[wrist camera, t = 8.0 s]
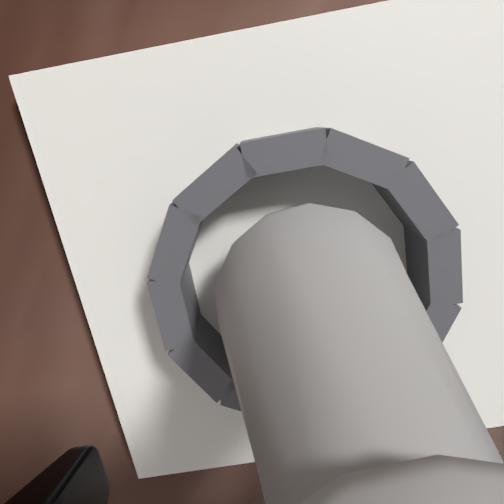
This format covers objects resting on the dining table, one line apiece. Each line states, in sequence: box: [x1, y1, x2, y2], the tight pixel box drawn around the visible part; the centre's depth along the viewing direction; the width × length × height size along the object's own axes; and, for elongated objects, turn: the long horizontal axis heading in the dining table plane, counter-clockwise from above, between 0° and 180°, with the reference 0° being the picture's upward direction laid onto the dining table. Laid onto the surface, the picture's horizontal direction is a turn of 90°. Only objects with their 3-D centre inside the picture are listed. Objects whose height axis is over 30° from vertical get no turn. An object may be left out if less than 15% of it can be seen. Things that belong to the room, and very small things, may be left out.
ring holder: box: [9, 0, 504, 479], centre depth 14 cm, size 16×16×3 cm
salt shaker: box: [214, 203, 504, 504], centre depth 9 cm, size 6×6×13 cm
